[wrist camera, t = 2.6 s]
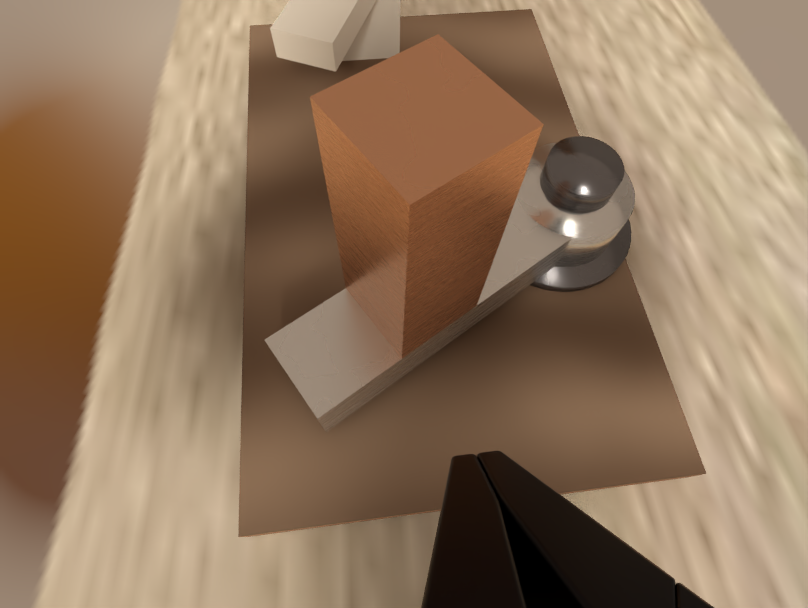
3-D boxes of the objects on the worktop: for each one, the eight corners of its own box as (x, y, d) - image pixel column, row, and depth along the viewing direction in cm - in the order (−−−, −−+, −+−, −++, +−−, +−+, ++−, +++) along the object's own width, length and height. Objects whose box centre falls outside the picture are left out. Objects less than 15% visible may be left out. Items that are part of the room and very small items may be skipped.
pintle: (647, 283, 19) (703, 229, 15) (497, 299, 18) (520, 246, 15) (601, 165, 21) (640, 96, 18) (468, 176, 21) (482, 107, 17)
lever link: (634, 229, 19) (832, -17, 11) (338, 450, 15) (268, 341, 7) (556, 161, 21) (673, -105, 12) (267, 345, 17) (136, 146, 8)
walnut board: (685, 477, 17) (706, 473, 16) (248, 536, 16) (238, 536, 14) (526, 30, 27) (531, 9, 26) (255, 46, 26) (250, 25, 25)
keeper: (412, 130, 22) (417, 38, 18) (293, 139, 21) (270, 47, 17) (392, 19, 25) (392, -80, 21) (289, 25, 25) (269, -75, 21)
